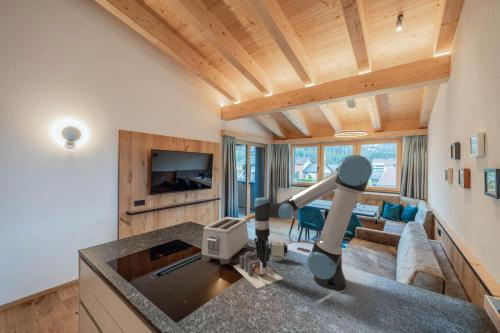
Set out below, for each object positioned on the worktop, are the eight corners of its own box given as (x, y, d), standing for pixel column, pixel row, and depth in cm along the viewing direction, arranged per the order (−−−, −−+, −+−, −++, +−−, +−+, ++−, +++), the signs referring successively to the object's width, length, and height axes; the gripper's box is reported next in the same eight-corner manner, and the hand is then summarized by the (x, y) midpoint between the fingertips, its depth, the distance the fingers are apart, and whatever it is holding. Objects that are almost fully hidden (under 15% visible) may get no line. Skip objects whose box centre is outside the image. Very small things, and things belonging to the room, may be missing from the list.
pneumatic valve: (287, 264, 124) (287, 244, 124) (268, 262, 126) (267, 242, 126) (287, 259, 129) (287, 240, 129) (269, 258, 131) (268, 239, 131)
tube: (265, 274, 110) (263, 267, 109) (259, 278, 108) (257, 271, 107) (248, 261, 125) (246, 254, 124) (242, 264, 123) (241, 258, 122)
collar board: (283, 280, 106) (282, 258, 106) (257, 290, 98) (256, 267, 98) (255, 260, 129) (255, 243, 129) (232, 267, 120) (232, 248, 120)
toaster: (198, 262, 128) (197, 229, 128) (226, 243, 159) (225, 216, 159) (225, 268, 120) (224, 233, 120) (249, 246, 151) (248, 218, 151)
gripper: (275, 229, 104) (276, 276, 104) (261, 223, 115) (262, 266, 115) (263, 232, 100) (264, 281, 100) (249, 225, 111) (250, 269, 111)
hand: (263, 273), depth 108 cm, fingers closed
